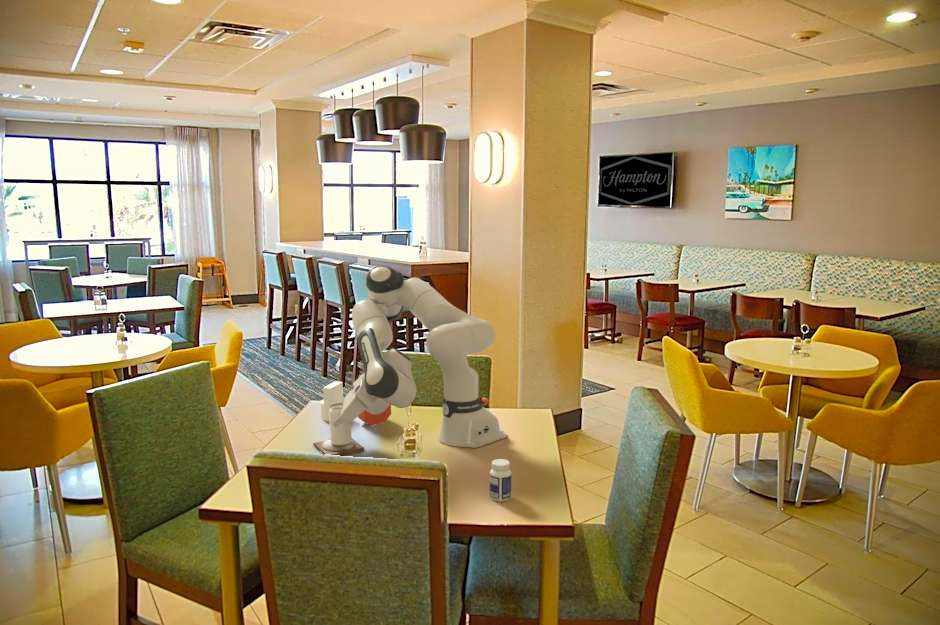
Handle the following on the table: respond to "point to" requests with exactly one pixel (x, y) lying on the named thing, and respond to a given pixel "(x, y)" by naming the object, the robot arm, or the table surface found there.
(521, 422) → the table surface
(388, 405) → the french fries container
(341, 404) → the can
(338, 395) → the base with upright slab
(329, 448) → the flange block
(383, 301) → the robot arm
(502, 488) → the pill bottle
